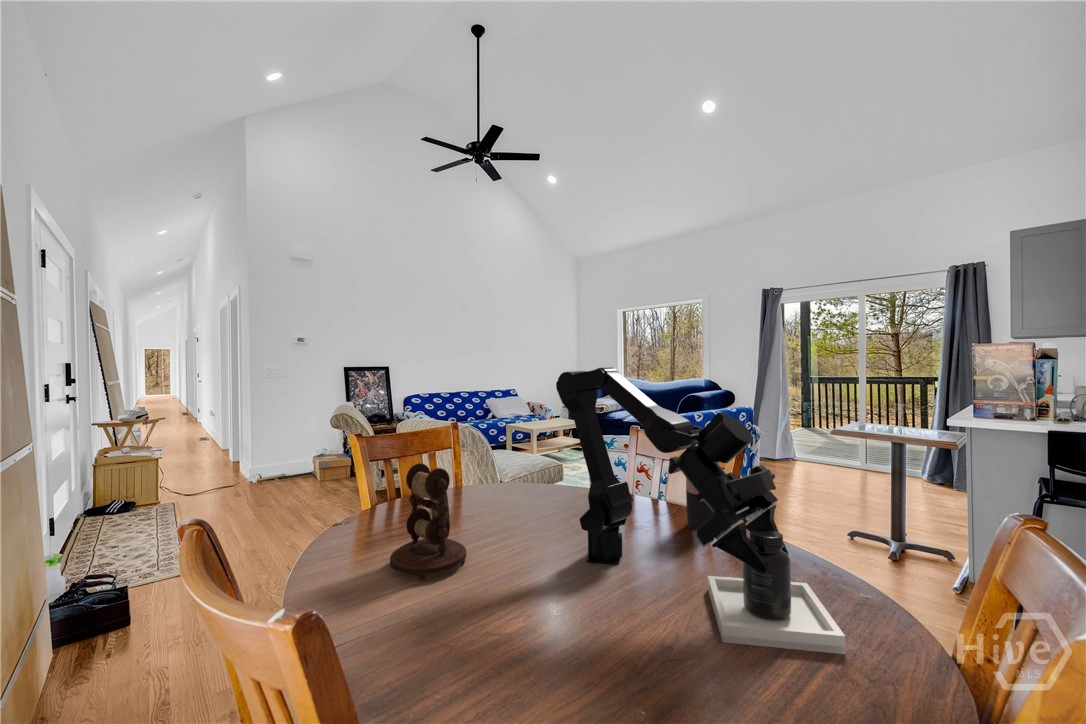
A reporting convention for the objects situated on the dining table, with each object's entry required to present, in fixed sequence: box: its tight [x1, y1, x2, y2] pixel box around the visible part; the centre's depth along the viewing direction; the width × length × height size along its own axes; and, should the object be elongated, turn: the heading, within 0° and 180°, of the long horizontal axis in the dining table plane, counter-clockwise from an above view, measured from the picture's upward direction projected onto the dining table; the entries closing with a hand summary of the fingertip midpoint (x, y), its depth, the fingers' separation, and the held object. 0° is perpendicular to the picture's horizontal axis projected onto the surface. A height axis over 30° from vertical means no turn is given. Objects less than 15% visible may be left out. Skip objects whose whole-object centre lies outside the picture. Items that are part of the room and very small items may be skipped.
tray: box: [707, 575, 846, 655], centre depth 76 cm, size 16×16×2 cm
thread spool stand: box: [389, 463, 467, 582], centre depth 97 cm, size 15×15×20 cm
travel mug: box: [685, 443, 720, 531], centre depth 117 cm, size 8×8×20 cm
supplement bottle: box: [742, 529, 792, 620], centre depth 77 cm, size 7×7×12 cm
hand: (776, 563), depth 75 cm, fingers open, 8 cm apart
